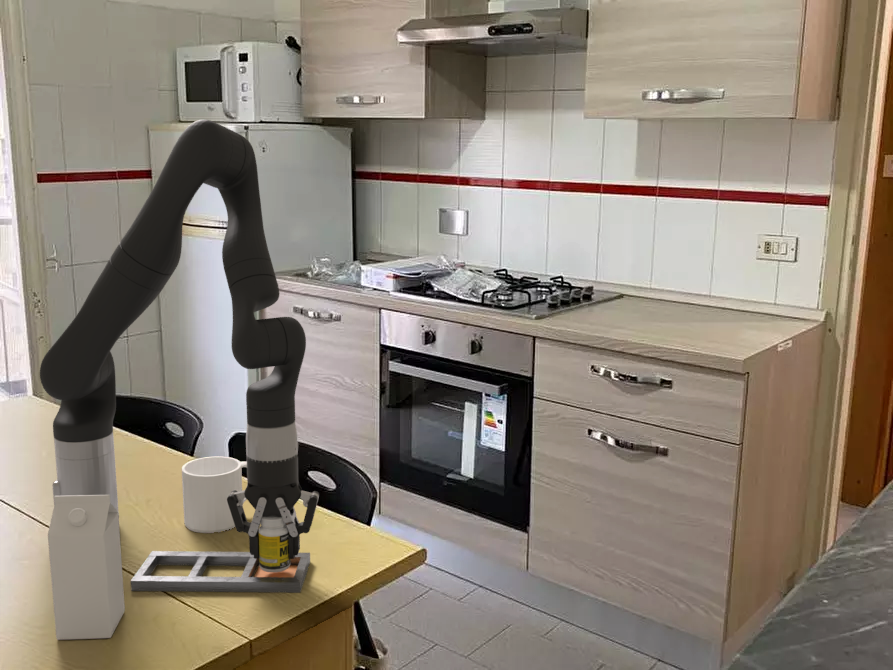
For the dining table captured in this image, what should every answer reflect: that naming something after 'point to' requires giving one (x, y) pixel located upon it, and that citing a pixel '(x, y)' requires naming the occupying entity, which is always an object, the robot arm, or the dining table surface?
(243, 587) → the grey flat rectangular frame
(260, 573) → the marked hole pad
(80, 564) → the milk carton
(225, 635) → the dining table surface
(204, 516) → the mug
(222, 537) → the dining table surface
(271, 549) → the supplement bottle
